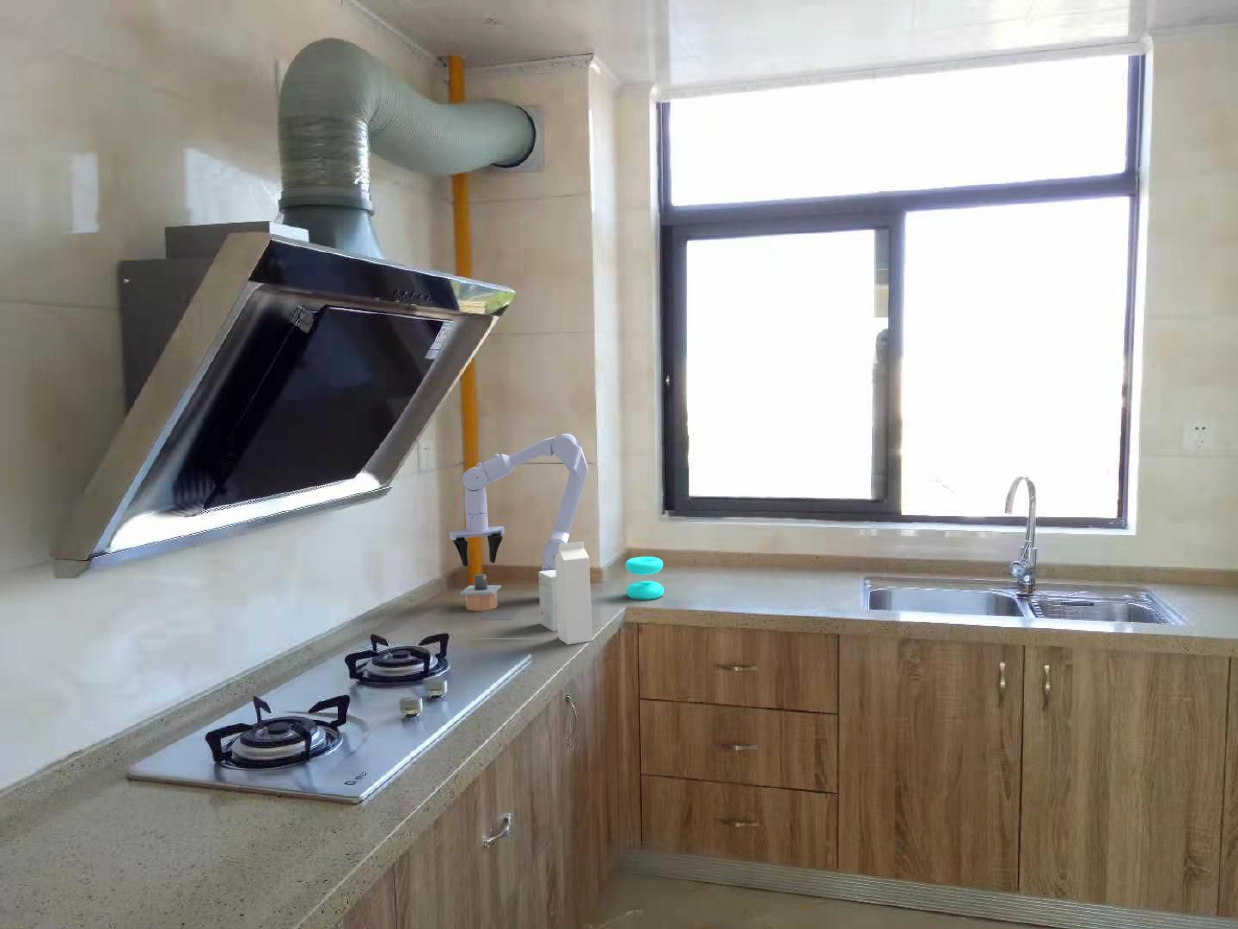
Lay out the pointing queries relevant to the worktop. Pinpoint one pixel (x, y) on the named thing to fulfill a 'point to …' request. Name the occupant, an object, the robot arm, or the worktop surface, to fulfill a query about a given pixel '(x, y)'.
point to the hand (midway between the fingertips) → (478, 564)
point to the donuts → (644, 588)
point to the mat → (497, 615)
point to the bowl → (481, 602)
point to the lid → (480, 587)
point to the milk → (573, 593)
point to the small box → (548, 599)
